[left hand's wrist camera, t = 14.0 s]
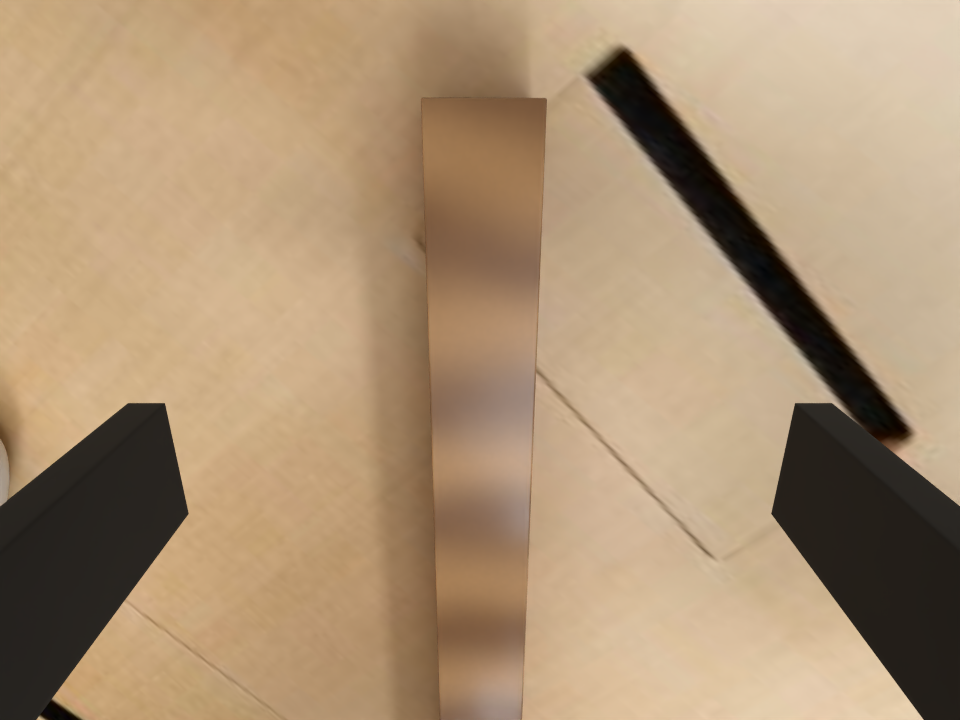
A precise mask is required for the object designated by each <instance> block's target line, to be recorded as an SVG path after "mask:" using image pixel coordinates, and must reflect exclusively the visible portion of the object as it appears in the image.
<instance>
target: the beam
mask: <svg viewBox="0 0 960 720" xmlns="http://www.w3.org/2000/svg"><path fill="white" fill-rule="evenodd" d="M546 108H547V99H546V98H422V99H421V113H422V146H423V179H424V212H425V244H426V277H427V310H428V342H429V375H430V408H431V441H432V473H433V506H434V539H435V571H436V604H437V637H438V670H439V702H440V720H522V703H523V678H524V654H525V629H526V604H527V579H528V554H529V530H530V505H531V480H532V455H533V430H534V405H535V381H536V356H537V331H538V306H539V281H540V256H541V232H542V207H543V182H544V157H545V132H546Z"/></svg>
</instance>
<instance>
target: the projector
mask: <svg viewBox="0 0 960 720" xmlns="http://www.w3.org/2000/svg"><path fill="white" fill-rule="evenodd" d="M9 481H10V473H9V461H8V456H7V452H6V449H5V447H4V444H3V443H2V441H1V439H0V506H1V505H2V504H4V503H5V502H6V501H7V499H8V492H9Z"/></svg>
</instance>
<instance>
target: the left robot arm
mask: <svg viewBox="0 0 960 720" xmlns="http://www.w3.org/2000/svg"><path fill="white" fill-rule="evenodd" d="M188 514H189V513H188V509H187V504H186V499H185V495H184V490H183V485H182V481H181V476H180V472H179V467H178V462H177V458H176V453H175V448H174V444H173V439H172V434H171V430H170V425H169V420H168V416H167V411H166V406H165V403H128V404H127V405H125V406H124V407H123V408H122V409H120V410H119V411H118V412H117V413H115V414H114V415H113V416H112V417H111V418H109V419H108V420H107V421H106V422H104V423H103V424H102V425H101V426H99V427H98V428H97V429H96V430H94V431H93V432H92V433H91V434H89V435H88V436H87V437H86V438H84V439H83V440H82V441H81V442H79V443H78V444H77V445H76V446H74V447H73V448H72V449H71V450H70V451H68V452H67V453H66V454H65V455H63V456H62V457H61V458H60V459H58V460H57V461H56V462H55V463H53V464H52V465H51V466H50V467H48V468H47V469H46V470H45V471H43V472H42V473H41V474H40V475H38V476H37V477H36V478H35V479H34V480H32V481H31V482H30V483H29V484H27V485H26V486H25V487H24V488H22V489H21V490H20V491H19V492H17V493H16V494H15V495H14V496H12V497H11V498H10V499H9V500H7V501H6V502H5V503H4V504H2V505H1V506H0V720H36V719H37V718H38V717H39V715H40V714H41V713H42V711H43V710H44V709H45V707H46V706H47V705H48V703H49V702H50V700H51V699H52V698H53V696H54V695H55V694H56V692H57V691H58V690H59V688H60V687H61V686H62V684H63V683H64V682H65V680H66V679H67V677H68V676H69V675H70V673H71V672H72V671H73V669H74V668H75V667H76V665H77V664H78V663H79V661H80V660H81V659H82V657H83V656H84V654H85V653H86V652H87V650H88V649H89V648H90V646H91V645H92V644H93V642H94V641H95V640H96V638H97V637H98V636H99V634H100V633H101V632H102V630H103V629H104V627H105V626H106V625H107V623H108V622H109V621H110V619H111V618H112V617H113V615H114V614H115V613H116V611H117V610H118V609H119V607H120V606H121V604H122V603H123V602H124V600H125V599H126V598H127V596H128V595H129V594H130V592H131V591H132V590H133V588H134V587H135V586H136V584H137V583H138V581H139V580H140V579H141V577H142V576H143V575H144V573H145V572H146V571H147V569H148V568H149V567H150V565H151V564H152V563H153V561H154V560H155V559H156V557H157V556H158V554H159V553H160V552H161V550H162V549H163V548H164V546H165V545H166V544H167V542H168V541H169V540H170V538H171V537H172V536H173V534H174V533H175V531H176V530H177V529H178V527H179V526H180V525H181V523H182V522H183V521H184V519H185V518H186V517H187V515H188ZM771 514H772V515H773V517H774V518H775V519H776V521H777V522H778V523H779V525H780V526H781V527H782V529H783V530H784V531H785V533H786V534H787V536H788V537H789V538H790V540H791V541H792V542H793V544H794V545H795V546H796V548H797V549H798V550H799V552H800V553H801V554H802V556H803V557H804V559H805V560H806V561H807V563H808V564H809V565H810V567H811V568H812V569H813V571H814V572H815V573H816V575H817V576H818V577H819V579H820V580H821V581H822V583H823V584H824V586H825V587H826V588H827V590H828V591H829V592H830V594H831V595H832V596H833V598H834V599H835V600H836V602H837V603H838V604H839V606H840V607H841V609H842V610H843V611H844V613H845V614H846V615H847V617H848V618H849V619H850V621H851V622H852V623H853V625H854V626H855V627H856V629H857V630H858V632H859V633H860V634H861V636H862V637H863V638H864V640H865V641H866V642H867V644H868V645H869V646H870V648H871V649H872V650H873V652H874V653H875V654H876V656H877V657H878V659H879V660H880V661H881V663H882V664H883V665H884V667H885V668H886V669H887V671H888V672H889V673H890V675H891V676H892V677H893V679H894V680H895V682H896V683H897V684H898V686H899V687H900V688H901V690H902V691H903V692H904V694H905V695H906V696H907V698H908V699H909V700H910V702H911V703H912V705H913V706H914V707H915V709H916V710H917V711H918V713H919V714H920V715H921V717H922V718H923V719H924V720H960V506H959V505H958V504H956V503H955V502H954V501H953V500H951V499H950V498H949V497H948V496H946V495H945V494H944V493H943V492H941V491H940V490H939V489H938V488H936V487H935V486H934V485H933V484H931V483H930V482H929V481H928V480H926V479H925V478H924V477H923V476H922V475H920V474H919V473H918V472H917V471H915V470H914V469H913V468H912V467H910V466H909V465H908V464H907V463H905V462H904V461H903V460H902V459H900V458H899V457H898V456H897V455H895V454H894V453H893V452H892V451H890V450H889V449H888V448H887V447H886V446H884V445H883V444H882V443H881V442H879V441H878V440H877V439H876V438H874V437H873V436H872V435H871V434H869V433H868V432H867V431H866V430H864V429H863V428H862V427H861V426H859V425H858V424H857V423H856V422H854V421H853V420H852V419H851V418H849V417H848V416H847V415H846V414H845V413H843V412H842V411H841V410H840V409H838V408H837V407H836V406H835V405H833V404H832V403H795V406H794V411H793V416H792V420H791V425H790V430H789V434H788V439H787V444H786V448H785V453H784V458H783V462H782V467H781V471H780V476H779V481H778V485H777V490H776V495H775V499H774V504H773V509H772V513H771Z"/></svg>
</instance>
